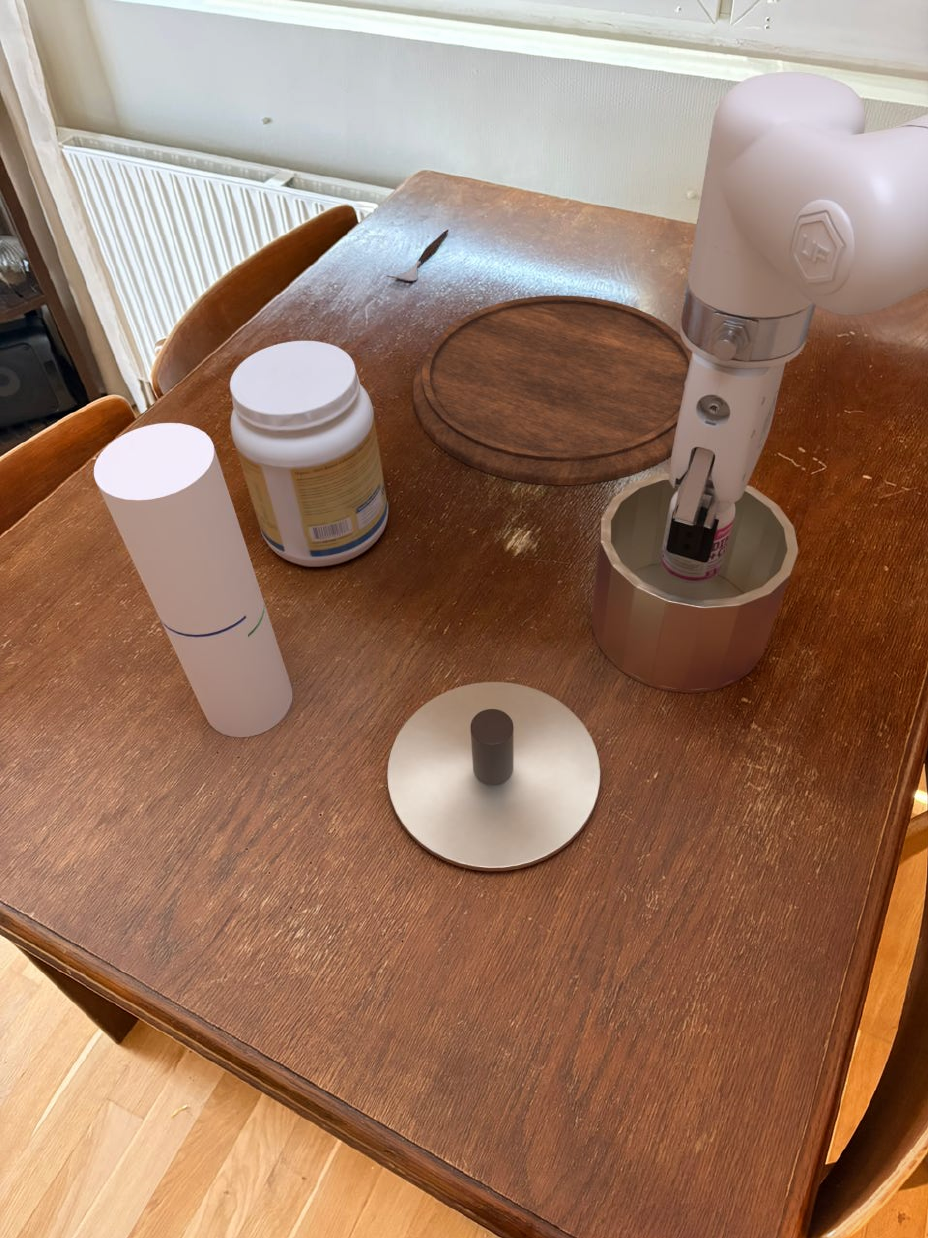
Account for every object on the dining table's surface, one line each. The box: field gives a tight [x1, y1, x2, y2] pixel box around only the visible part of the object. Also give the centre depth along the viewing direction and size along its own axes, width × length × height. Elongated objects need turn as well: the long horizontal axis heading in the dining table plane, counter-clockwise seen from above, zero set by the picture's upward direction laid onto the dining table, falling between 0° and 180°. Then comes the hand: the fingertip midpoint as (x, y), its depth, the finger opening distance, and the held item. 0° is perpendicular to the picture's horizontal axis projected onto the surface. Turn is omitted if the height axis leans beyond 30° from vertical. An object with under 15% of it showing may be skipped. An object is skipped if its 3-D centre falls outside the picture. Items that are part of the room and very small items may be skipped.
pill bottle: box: [660, 476, 735, 584], centre depth 67 cm, size 5×5×8 cm
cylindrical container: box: [93, 422, 294, 738], centre depth 63 cm, size 7×7×25 cm
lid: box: [386, 681, 602, 872], centre depth 65 cm, size 16×16×7 cm
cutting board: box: [412, 294, 692, 486], centre depth 97 cm, size 32×32×2 cm
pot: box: [591, 472, 799, 694], centre depth 72 cm, size 15×15×10 cm
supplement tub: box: [229, 340, 389, 568], centre depth 79 cm, size 12×12×17 cm
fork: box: [386, 229, 449, 282], centre depth 117 cm, size 3×16×2 cm, turn 156°
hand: (699, 529), depth 68 cm, fingers closed on pill bottle, 4 cm apart
